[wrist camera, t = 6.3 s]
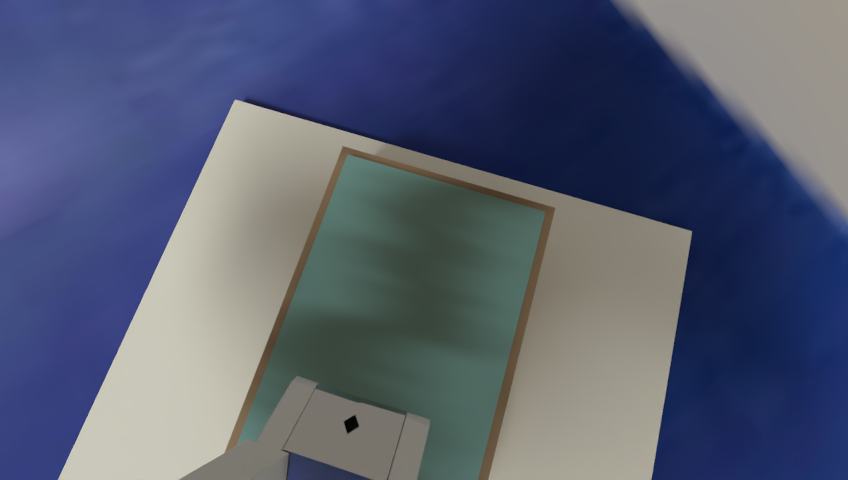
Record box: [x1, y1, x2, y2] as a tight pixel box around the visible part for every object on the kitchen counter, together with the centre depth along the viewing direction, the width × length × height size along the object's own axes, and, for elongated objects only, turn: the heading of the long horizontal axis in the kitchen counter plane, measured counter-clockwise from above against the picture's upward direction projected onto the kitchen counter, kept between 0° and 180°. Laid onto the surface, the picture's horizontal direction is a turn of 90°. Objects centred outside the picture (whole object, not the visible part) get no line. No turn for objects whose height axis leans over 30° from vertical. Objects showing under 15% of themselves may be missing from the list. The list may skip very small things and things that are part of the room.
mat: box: [58, 100, 692, 480], centre depth 15 cm, size 18×18×1 cm
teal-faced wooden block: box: [224, 146, 555, 480], centre depth 14 cm, size 7×3×10 cm
